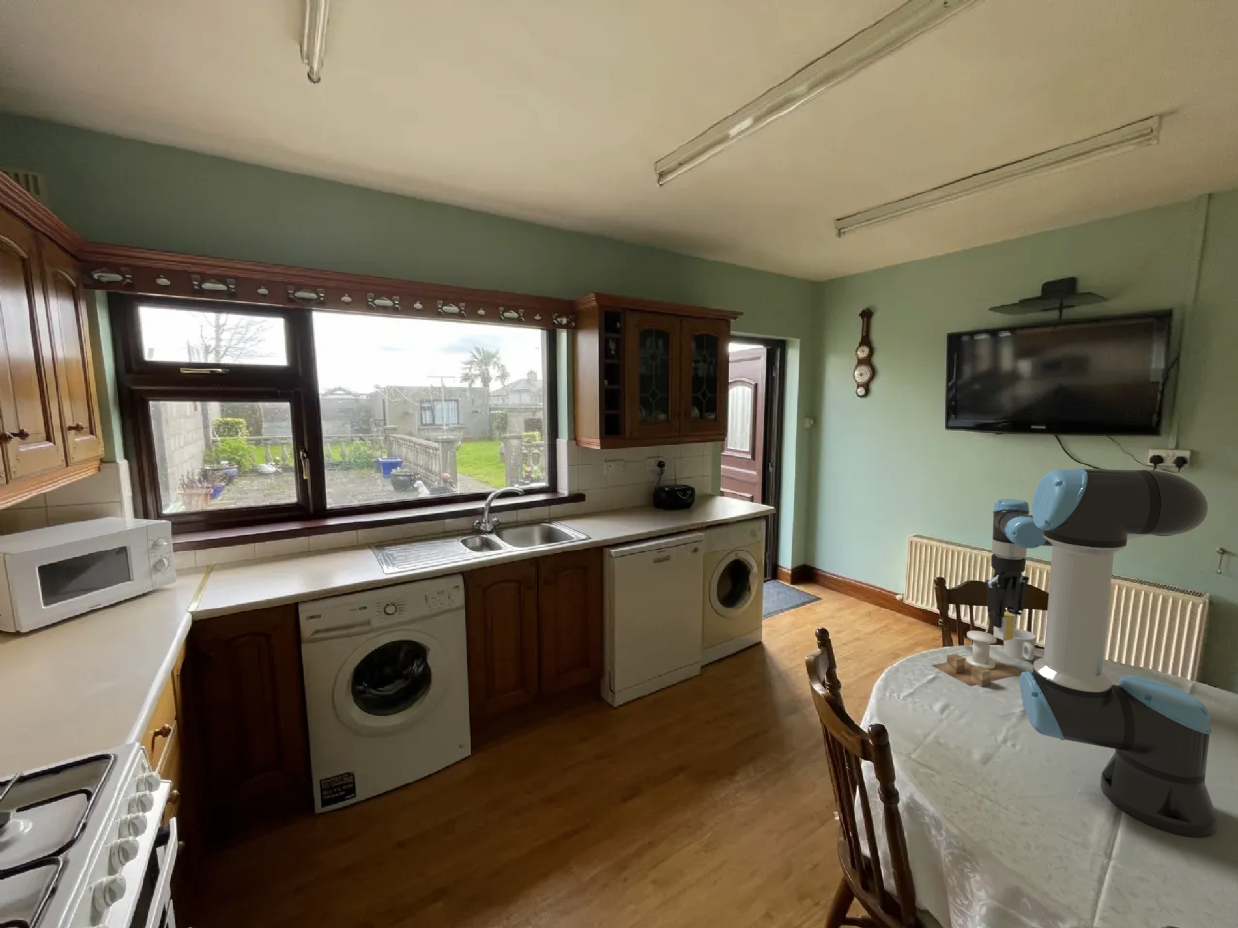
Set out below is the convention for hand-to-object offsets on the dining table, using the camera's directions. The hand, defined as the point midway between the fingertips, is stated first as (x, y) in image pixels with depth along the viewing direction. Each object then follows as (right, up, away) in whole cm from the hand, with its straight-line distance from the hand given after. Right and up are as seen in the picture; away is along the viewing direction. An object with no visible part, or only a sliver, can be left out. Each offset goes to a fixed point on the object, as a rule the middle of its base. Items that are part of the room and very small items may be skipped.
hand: (1004, 636), depth 141 cm
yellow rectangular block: (0, 0, 0) cm, 1 cm away
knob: (-2, -10, +7) cm, 13 cm away
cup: (+13, -11, +10) cm, 20 cm away
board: (-5, -12, +4) cm, 14 cm away
